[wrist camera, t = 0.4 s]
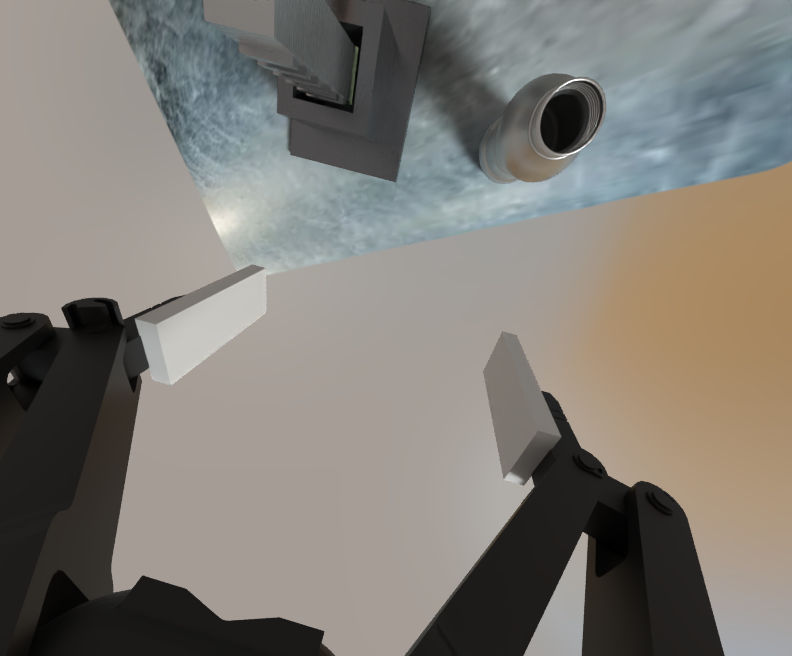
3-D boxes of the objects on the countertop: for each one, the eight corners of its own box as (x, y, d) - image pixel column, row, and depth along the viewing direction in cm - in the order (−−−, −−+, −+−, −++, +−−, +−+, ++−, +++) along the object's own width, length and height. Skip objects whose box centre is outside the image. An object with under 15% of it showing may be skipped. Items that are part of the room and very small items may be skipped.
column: (335, 59, 31) (192, -100, 13) (372, 69, 31) (278, -80, 13) (330, 111, 33) (202, 32, 16) (365, 120, 33) (276, 50, 16)
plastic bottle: (473, 184, 36) (502, 186, 18) (480, 118, 32) (522, 43, 15) (527, 183, 35) (612, 185, 17) (539, 115, 32) (658, 32, 14)
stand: (301, -20, 29) (222, -132, 19) (430, 12, 29) (422, -85, 19) (294, 155, 37) (234, 144, 27) (396, 182, 37) (377, 181, 26)
